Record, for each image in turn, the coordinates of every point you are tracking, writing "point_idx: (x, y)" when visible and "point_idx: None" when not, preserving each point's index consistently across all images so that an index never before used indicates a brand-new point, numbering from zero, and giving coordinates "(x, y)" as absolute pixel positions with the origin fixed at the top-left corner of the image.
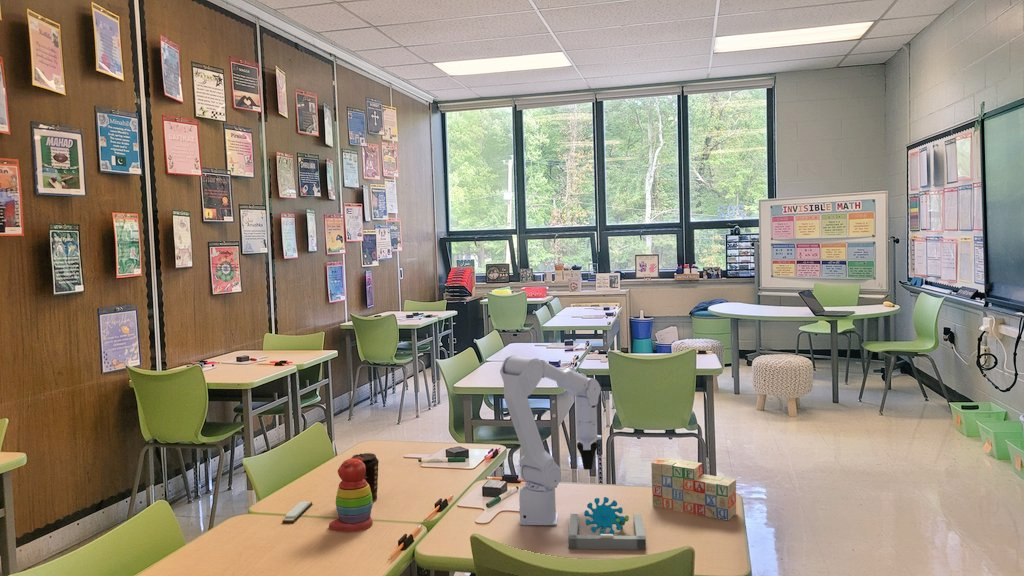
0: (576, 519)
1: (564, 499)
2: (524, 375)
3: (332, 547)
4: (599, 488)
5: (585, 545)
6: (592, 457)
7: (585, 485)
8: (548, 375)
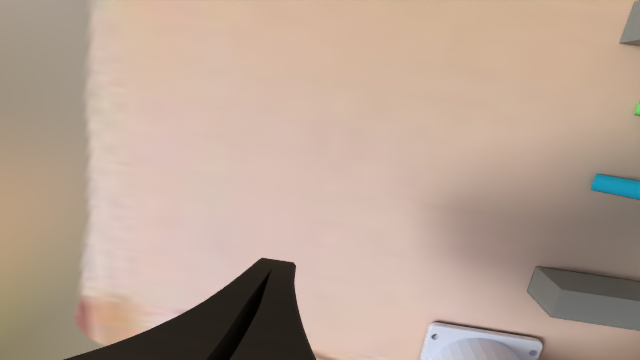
0: (627, 305)
1: None
2: None
3: None
4: (138, 132)
5: None
6: (300, 331)
7: (105, 184)
8: None
